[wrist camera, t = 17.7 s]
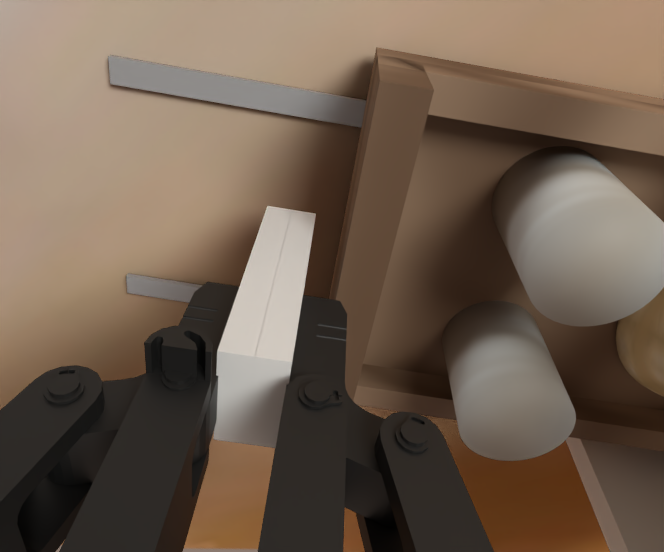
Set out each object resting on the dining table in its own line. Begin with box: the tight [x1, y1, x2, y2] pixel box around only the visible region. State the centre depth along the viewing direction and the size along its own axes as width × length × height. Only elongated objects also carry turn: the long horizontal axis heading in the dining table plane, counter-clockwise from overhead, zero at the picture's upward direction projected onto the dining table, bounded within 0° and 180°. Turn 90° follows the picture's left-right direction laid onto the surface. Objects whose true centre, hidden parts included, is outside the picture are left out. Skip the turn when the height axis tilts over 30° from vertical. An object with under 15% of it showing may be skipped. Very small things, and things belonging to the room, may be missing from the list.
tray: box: [329, 48, 664, 461], centre depth 16 cm, size 20×12×5 cm, turn 81°
